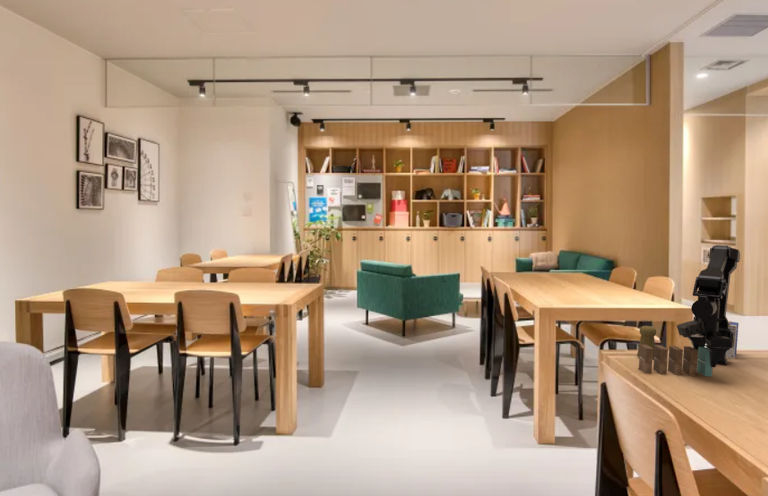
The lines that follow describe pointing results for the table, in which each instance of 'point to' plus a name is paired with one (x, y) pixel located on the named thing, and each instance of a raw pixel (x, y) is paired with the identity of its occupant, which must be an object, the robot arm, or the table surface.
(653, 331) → the cork
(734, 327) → the walkman
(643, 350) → the domino
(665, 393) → the table surface
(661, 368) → the domino
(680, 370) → the domino
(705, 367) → the domino
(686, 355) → the domino
